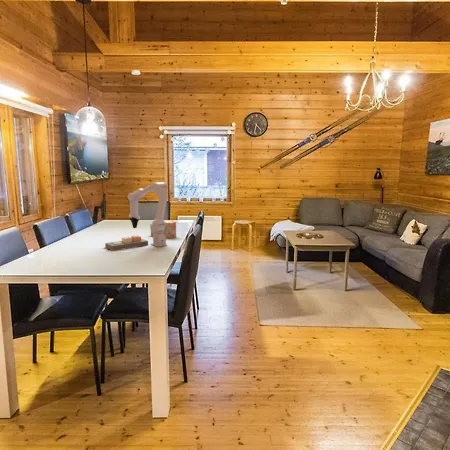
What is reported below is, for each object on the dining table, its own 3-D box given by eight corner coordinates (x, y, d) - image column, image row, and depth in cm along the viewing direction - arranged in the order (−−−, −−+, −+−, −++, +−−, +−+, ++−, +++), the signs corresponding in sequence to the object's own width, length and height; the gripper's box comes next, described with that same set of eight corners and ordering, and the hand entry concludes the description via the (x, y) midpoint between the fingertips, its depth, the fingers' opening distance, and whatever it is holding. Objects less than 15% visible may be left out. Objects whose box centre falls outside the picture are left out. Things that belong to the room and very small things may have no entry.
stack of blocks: (150, 235, 283) (150, 220, 281) (155, 234, 288) (155, 219, 286) (171, 238, 272) (171, 222, 270) (176, 237, 277) (176, 221, 275)
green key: (122, 247, 240) (122, 242, 239) (115, 248, 237) (115, 243, 236) (119, 246, 243) (119, 241, 243) (112, 247, 240) (112, 242, 240)
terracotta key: (141, 241, 248) (141, 236, 247) (134, 242, 245) (134, 237, 244) (138, 239, 252) (137, 235, 251) (131, 240, 249) (131, 236, 248)
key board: (148, 245, 248) (147, 240, 247) (112, 250, 232) (112, 246, 231) (140, 242, 257) (140, 238, 257) (105, 247, 241) (105, 243, 240)
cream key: (131, 242, 244) (131, 237, 243) (125, 243, 240) (124, 238, 240) (128, 241, 247) (128, 236, 247) (122, 242, 244) (121, 237, 244)
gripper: (124, 208, 258) (125, 227, 260) (133, 210, 247) (134, 229, 249) (133, 208, 262) (134, 226, 265) (142, 210, 251) (143, 228, 254)
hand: (134, 227), depth 257 cm, fingers closed
